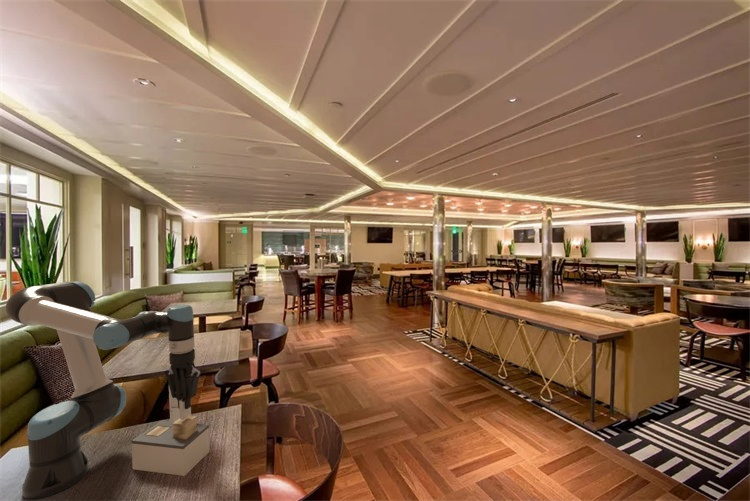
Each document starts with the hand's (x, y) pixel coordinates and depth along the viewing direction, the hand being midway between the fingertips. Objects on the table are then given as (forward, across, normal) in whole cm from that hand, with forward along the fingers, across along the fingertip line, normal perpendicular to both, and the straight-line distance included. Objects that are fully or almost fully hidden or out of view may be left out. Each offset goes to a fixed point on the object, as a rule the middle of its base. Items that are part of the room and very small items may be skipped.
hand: (184, 417), depth 108 cm
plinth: (+16, -6, 0) cm, 17 cm away
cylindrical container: (+16, -15, +14) cm, 26 cm away
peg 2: (+9, 0, 0) cm, 9 cm away
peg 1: (+14, -11, 0) cm, 18 cm away
